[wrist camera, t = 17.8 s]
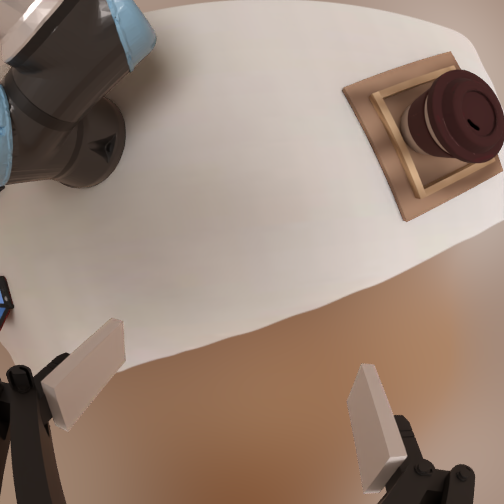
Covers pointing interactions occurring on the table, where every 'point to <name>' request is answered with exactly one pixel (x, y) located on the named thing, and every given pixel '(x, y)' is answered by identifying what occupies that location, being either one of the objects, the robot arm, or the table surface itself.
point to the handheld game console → (4, 301)
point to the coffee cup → (455, 119)
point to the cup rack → (398, 151)
